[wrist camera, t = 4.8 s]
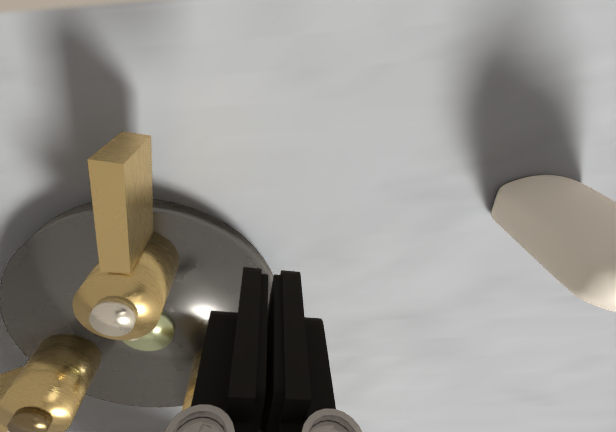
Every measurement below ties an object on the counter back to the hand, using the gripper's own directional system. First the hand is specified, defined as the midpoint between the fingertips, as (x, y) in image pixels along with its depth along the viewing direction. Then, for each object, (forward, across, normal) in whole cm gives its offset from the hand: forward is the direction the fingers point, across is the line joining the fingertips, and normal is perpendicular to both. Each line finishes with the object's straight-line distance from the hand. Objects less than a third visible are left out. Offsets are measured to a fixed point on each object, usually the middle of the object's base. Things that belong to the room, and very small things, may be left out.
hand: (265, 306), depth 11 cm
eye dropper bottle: (+10, -16, 0) cm, 19 cm away
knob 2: (+8, +6, +3) cm, 10 cm away
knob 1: (+8, +13, +15) cm, 21 cm away
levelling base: (+10, +6, +11) cm, 16 cm away
